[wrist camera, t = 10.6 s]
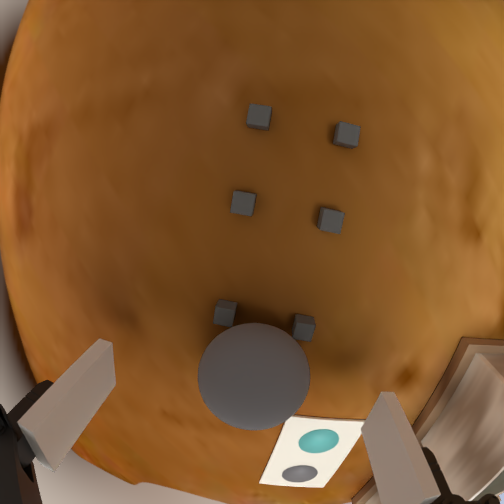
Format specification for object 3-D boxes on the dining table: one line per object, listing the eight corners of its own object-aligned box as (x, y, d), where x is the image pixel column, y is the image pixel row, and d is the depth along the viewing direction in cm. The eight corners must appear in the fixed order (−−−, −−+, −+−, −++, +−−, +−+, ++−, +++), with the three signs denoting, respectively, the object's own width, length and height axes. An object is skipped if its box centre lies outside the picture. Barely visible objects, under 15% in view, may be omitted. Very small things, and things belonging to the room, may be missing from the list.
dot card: (287, 413, 17) (287, 417, 17) (368, 419, 17) (368, 422, 17) (259, 481, 20) (259, 483, 19) (323, 485, 19) (323, 488, 19)
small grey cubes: (251, 108, 13) (250, 103, 12) (355, 130, 13) (360, 126, 12) (208, 372, 17) (205, 382, 16) (291, 388, 17) (291, 398, 16)
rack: (462, 337, 15) (535, 419, 6) (536, 341, 14) (592, 392, 6) (351, 499, 20) (359, 566, 11) (431, 488, 20) (448, 541, 11)
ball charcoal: (216, 295, 16) (188, 350, 10) (317, 314, 15) (332, 376, 10) (206, 374, 17) (182, 437, 12) (292, 390, 17) (294, 457, 11)
